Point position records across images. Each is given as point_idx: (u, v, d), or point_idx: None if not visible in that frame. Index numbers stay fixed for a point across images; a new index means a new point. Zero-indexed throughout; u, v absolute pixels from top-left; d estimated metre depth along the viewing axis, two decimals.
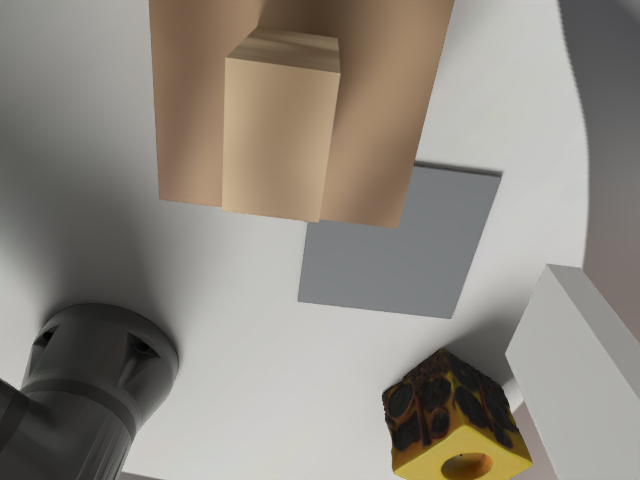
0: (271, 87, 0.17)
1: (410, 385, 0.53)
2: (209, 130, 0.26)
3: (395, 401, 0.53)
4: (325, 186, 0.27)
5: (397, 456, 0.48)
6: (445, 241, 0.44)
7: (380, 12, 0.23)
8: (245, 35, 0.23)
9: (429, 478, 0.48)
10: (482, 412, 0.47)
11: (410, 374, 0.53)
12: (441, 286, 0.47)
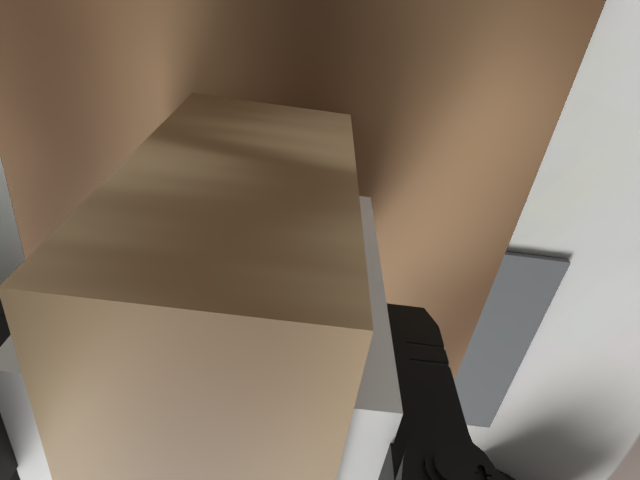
0: (160, 358, 0.05)
1: None
2: None
3: None
4: None
5: None
6: (488, 338, 0.33)
7: (436, 67, 0.11)
8: (171, 108, 0.12)
9: None
10: None
11: None
12: (478, 391, 0.35)
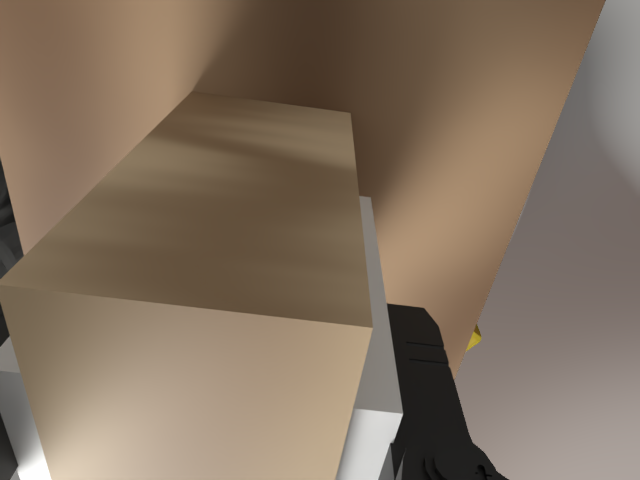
0: (158, 355, 0.05)
1: None
2: None
3: None
4: None
5: None
6: None
7: (436, 65, 0.11)
8: (170, 107, 0.12)
9: None
10: None
11: None
12: None
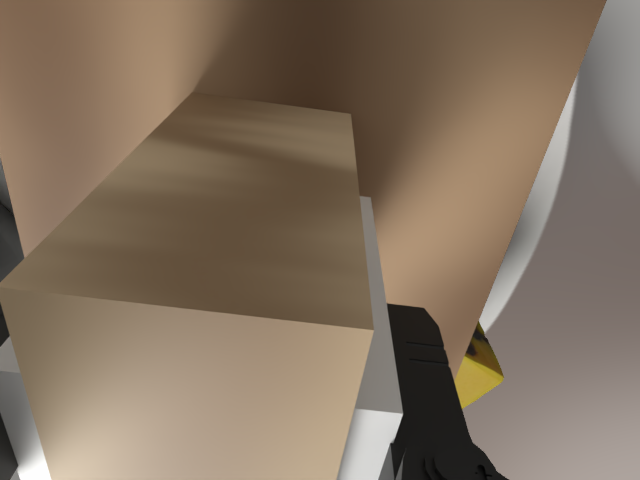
0: (160, 357, 0.05)
1: None
2: None
3: None
4: None
5: None
6: None
7: (437, 66, 0.11)
8: (171, 108, 0.12)
9: None
10: None
11: None
12: None
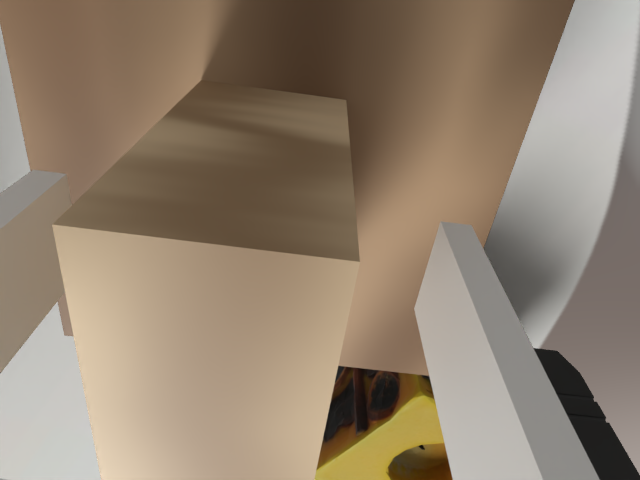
0: (183, 287, 0.07)
1: None
2: None
3: None
4: None
5: None
6: None
7: (424, 56, 0.12)
8: (182, 94, 0.13)
9: None
10: None
11: None
12: None
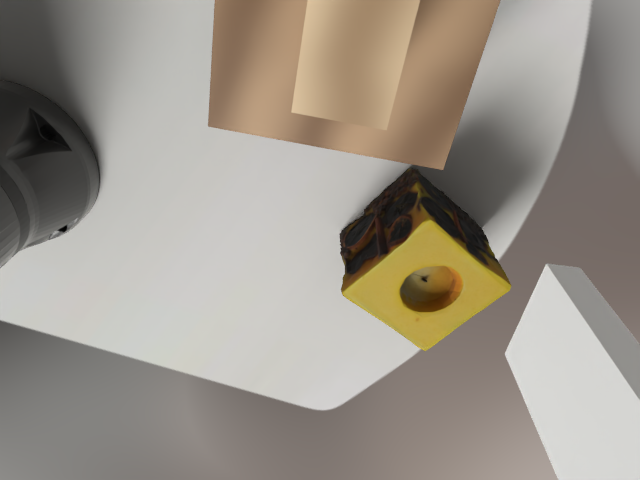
0: None
1: (372, 214, 0.44)
2: (265, 54, 0.26)
3: (354, 233, 0.45)
4: None
5: (349, 279, 0.40)
6: None
7: None
8: None
9: (385, 305, 0.39)
10: (453, 226, 0.39)
11: (373, 202, 0.45)
12: None
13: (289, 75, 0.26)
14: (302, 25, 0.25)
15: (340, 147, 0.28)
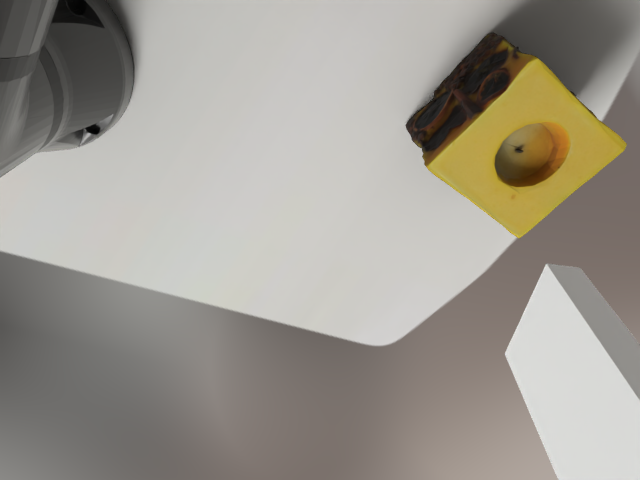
0: None
1: (445, 93, 0.39)
2: None
3: (425, 116, 0.39)
4: None
5: (432, 154, 0.35)
6: None
7: None
8: None
9: (476, 180, 0.34)
10: None
11: (445, 81, 0.39)
12: None
13: None
14: None
15: None
